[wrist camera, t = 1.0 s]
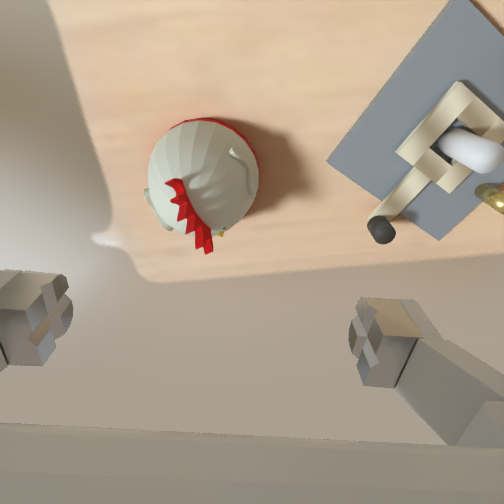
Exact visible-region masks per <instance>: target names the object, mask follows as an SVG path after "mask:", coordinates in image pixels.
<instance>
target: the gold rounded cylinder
mask: <svg viewBox="0 0 504 504" xmlns="http://www.w3.org/2000/svg"><path fill="white" fill-rule="evenodd" d="M474 193H475V196H476V197H477V198H479V199H480V200H482V201H483V202H485V203H486V204H488V205H489V206H491V207H492V208H494V209H495V210H497V211H498V212H500V213H501V214H504V192H502V191H500V190H498V189H497V188H495V187H493V186H492V185H490V184H488V183H483V184H480V185H479V186H478V187H477V188H476V189H475V192H474Z"/></svg>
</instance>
